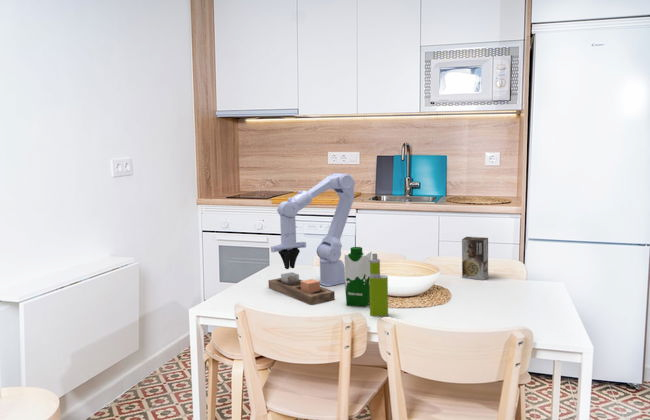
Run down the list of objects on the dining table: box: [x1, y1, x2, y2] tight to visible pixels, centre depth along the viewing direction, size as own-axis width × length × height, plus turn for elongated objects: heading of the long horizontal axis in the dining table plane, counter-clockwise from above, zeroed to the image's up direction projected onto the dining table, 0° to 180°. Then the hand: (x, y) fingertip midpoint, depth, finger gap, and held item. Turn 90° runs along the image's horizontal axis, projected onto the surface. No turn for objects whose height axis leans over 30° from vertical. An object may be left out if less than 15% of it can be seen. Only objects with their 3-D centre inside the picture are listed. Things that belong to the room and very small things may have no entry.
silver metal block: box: [280, 272, 300, 285], centre depth 216 cm, size 5×5×3 cm
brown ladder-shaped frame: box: [268, 277, 336, 306], centre depth 210 cm, size 10×30×3 cm, turn 35°
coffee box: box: [461, 236, 489, 281], centre depth 226 cm, size 9×6×16 cm
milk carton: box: [344, 246, 372, 308], centre depth 195 cm, size 9×9×20 cm
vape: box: [369, 253, 389, 317], centre depth 182 cm, size 4×6×20 cm, turn 81°
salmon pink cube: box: [301, 278, 321, 294], centre depth 204 cm, size 5×5×3 cm
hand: (289, 268), depth 215 cm, fingers closed
